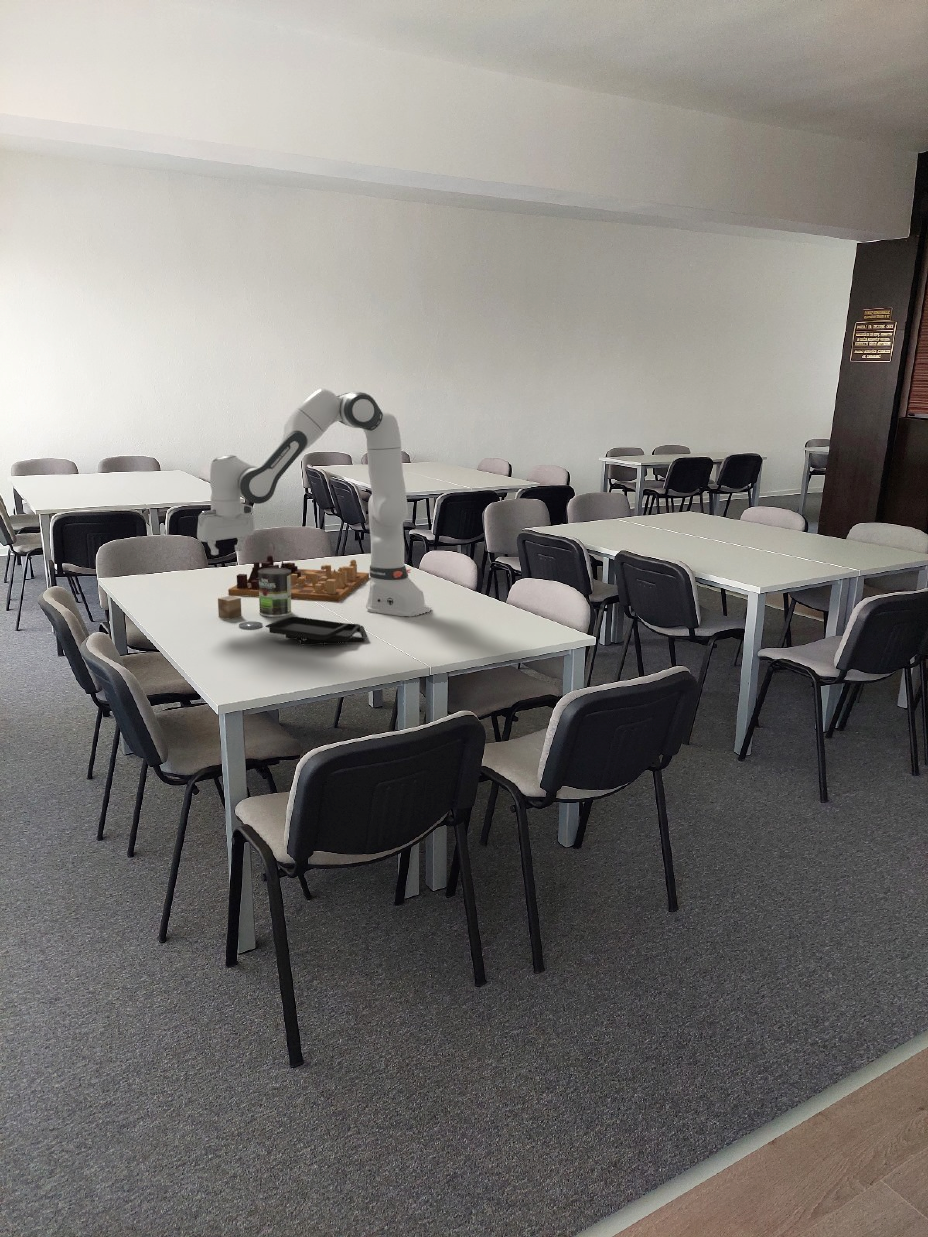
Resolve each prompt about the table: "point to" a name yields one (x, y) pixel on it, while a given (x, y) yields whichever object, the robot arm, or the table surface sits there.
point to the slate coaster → (250, 625)
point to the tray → (317, 630)
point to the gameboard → (306, 581)
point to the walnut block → (229, 607)
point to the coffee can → (274, 592)
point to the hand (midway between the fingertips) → (226, 552)
